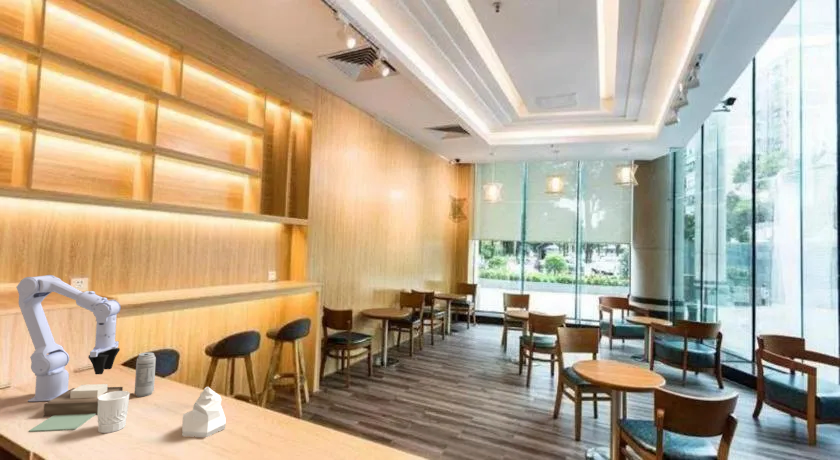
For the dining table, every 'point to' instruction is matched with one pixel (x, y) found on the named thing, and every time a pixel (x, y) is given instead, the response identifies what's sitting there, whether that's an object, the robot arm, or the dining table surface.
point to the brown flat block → (74, 404)
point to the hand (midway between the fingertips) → (103, 371)
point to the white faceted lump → (204, 416)
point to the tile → (89, 391)
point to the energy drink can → (145, 374)
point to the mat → (62, 422)
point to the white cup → (112, 411)
